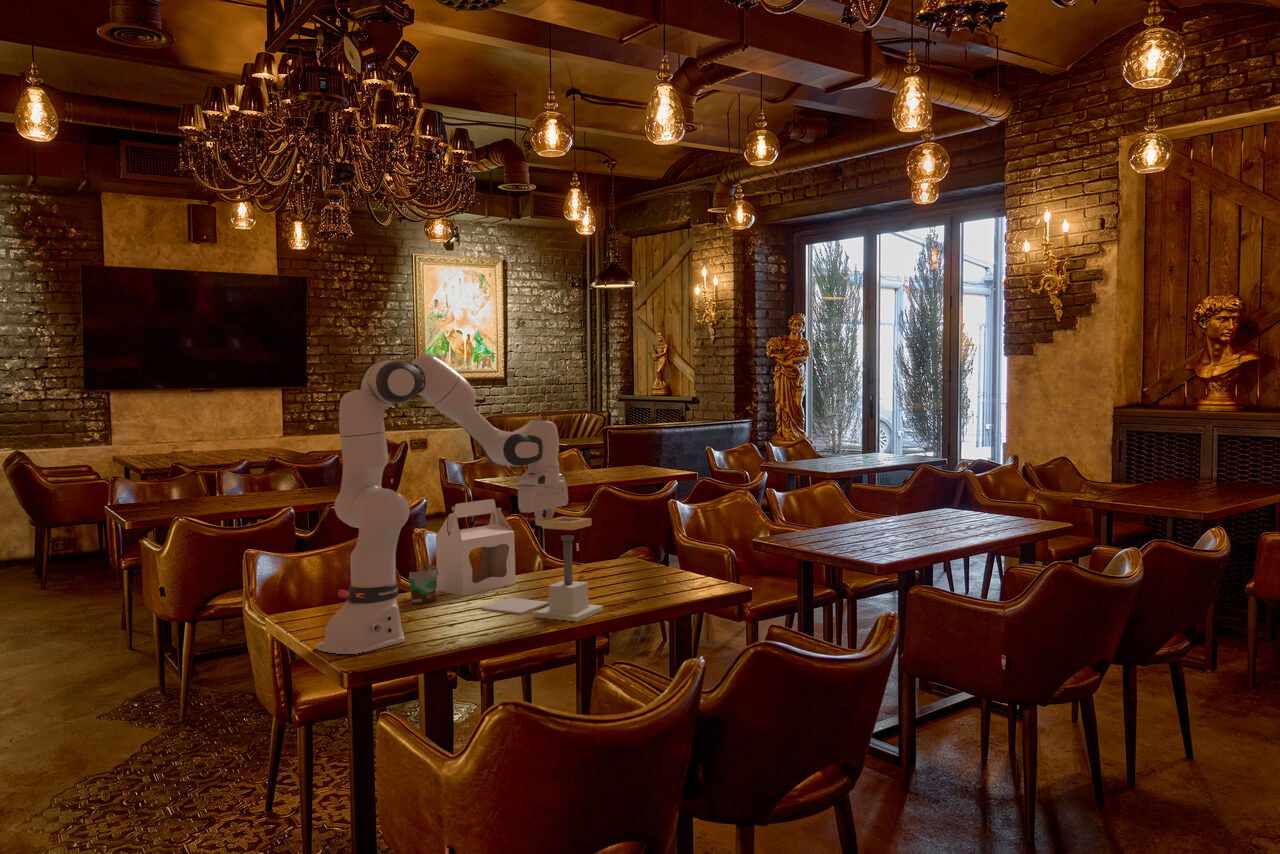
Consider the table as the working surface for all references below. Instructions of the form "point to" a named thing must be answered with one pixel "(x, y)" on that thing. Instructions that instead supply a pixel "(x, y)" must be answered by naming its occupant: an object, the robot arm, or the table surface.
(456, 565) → the gable box
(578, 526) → the ring
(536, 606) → the mat
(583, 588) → the stand
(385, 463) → the robot arm
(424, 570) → the food container
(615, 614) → the table surface
